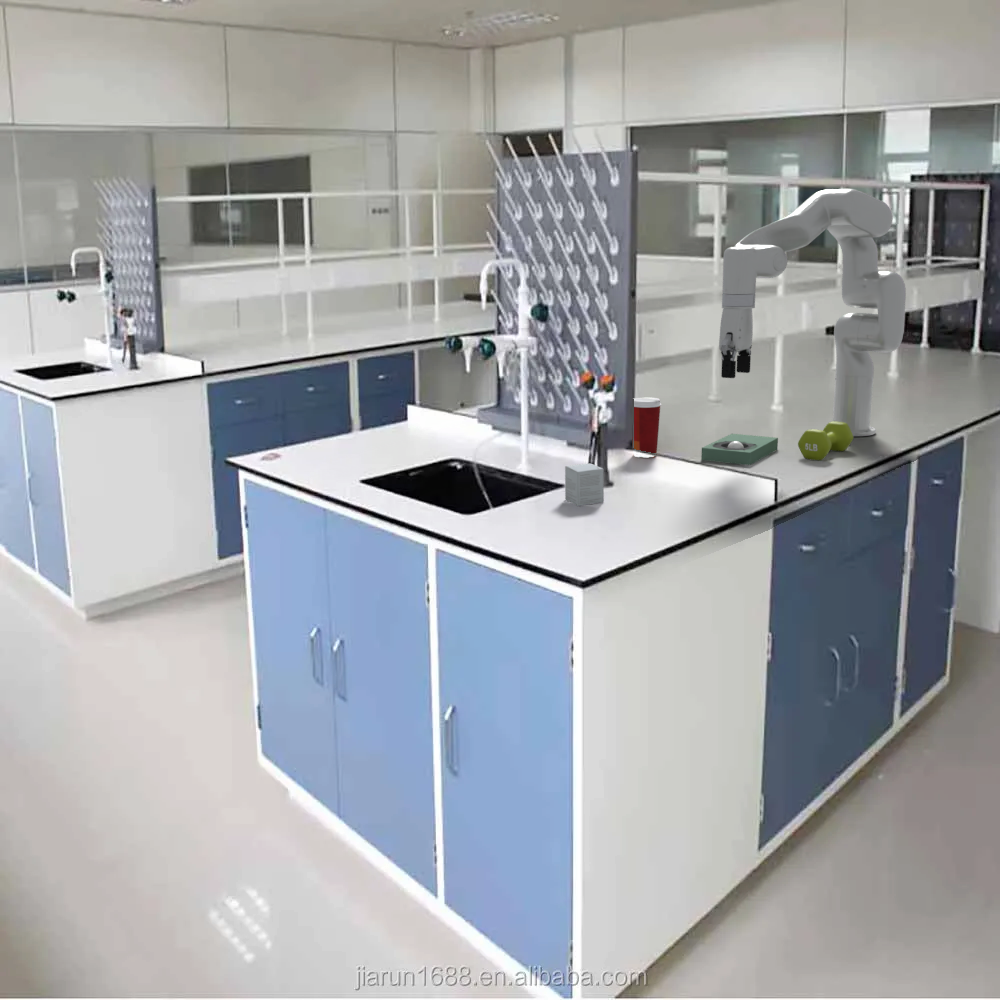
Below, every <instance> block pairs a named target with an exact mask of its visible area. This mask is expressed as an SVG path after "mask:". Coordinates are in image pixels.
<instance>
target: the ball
mask: <svg viewBox="0 0 1000 1000" xmlns="http://www.w3.org/2000/svg"><path fill="white" fill-rule="evenodd" d="M727 448H744V446H743V445H742V443H740V442H738V441H733V442H731V443H730V444H729V445H728V447H727Z"/></svg>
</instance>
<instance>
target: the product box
mask: <svg viewBox="0 0 1000 1000" xmlns="http://www.w3.org/2000/svg"><path fill="white" fill-rule="evenodd" d="M564 470H565V471H564V472H565V474H564V479H565V480H564V481H565V483H564V484H565V485H564V487H565V489H564V490H565V491H564V492H565V495H564V496H565V500H566V501H567V502H569V503H571V504H572V505H575V506H576V507H581V506H582V507H583V506H588V505H595V504H603V503H604V501H605V500H604V499H605V498H604V496H605V493H604V489H605V487H604V486H605V485H604V484H605V483H604V481H605V480H604V471H605V469H604V468H603V467H600V466H598V465H596V464H592V463H589V462H588V463H581V464H574V465H565V466H564Z"/></svg>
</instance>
